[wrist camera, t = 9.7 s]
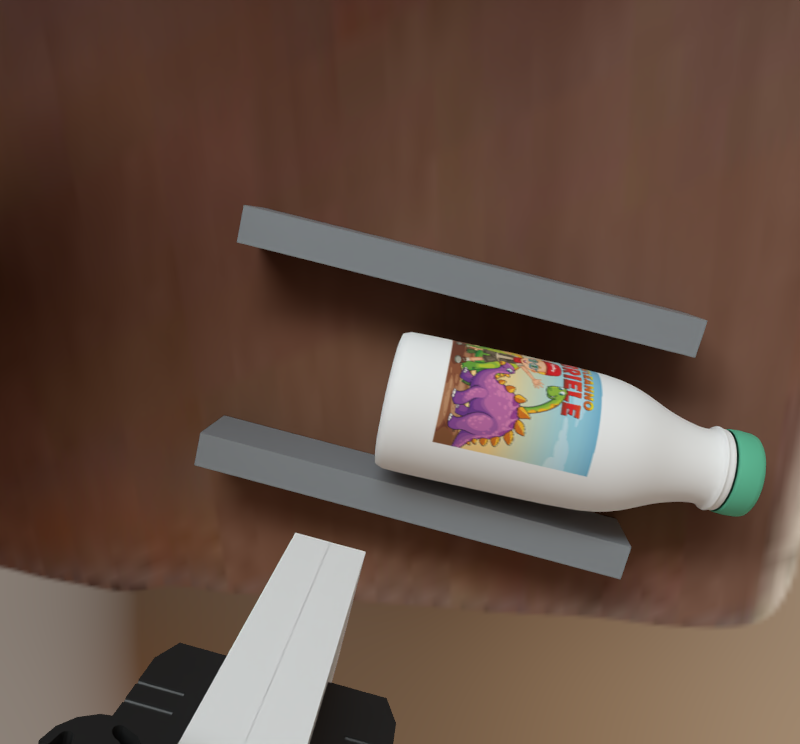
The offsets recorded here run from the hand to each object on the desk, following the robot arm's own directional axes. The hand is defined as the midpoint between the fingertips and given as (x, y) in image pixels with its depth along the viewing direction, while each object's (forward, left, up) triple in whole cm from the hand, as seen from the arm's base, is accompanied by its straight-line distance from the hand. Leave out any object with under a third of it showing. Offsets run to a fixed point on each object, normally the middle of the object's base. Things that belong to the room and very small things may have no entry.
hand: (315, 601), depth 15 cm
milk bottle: (-1, -2, -25) cm, 25 cm away
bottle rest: (+2, -1, -28) cm, 28 cm away
